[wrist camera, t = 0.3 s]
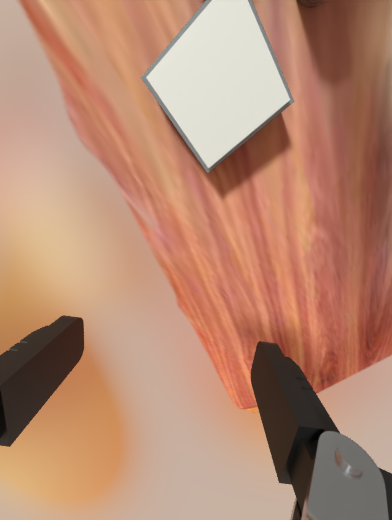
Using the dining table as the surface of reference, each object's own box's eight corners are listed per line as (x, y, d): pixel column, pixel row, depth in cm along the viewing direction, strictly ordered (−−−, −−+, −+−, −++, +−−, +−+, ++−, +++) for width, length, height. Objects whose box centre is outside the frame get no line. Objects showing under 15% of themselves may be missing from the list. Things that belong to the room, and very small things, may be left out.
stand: (150, 88, 27) (139, 76, 22) (229, -3, 23) (237, -41, 18) (206, 169, 32) (207, 174, 28) (279, 107, 28) (296, 100, 23)
